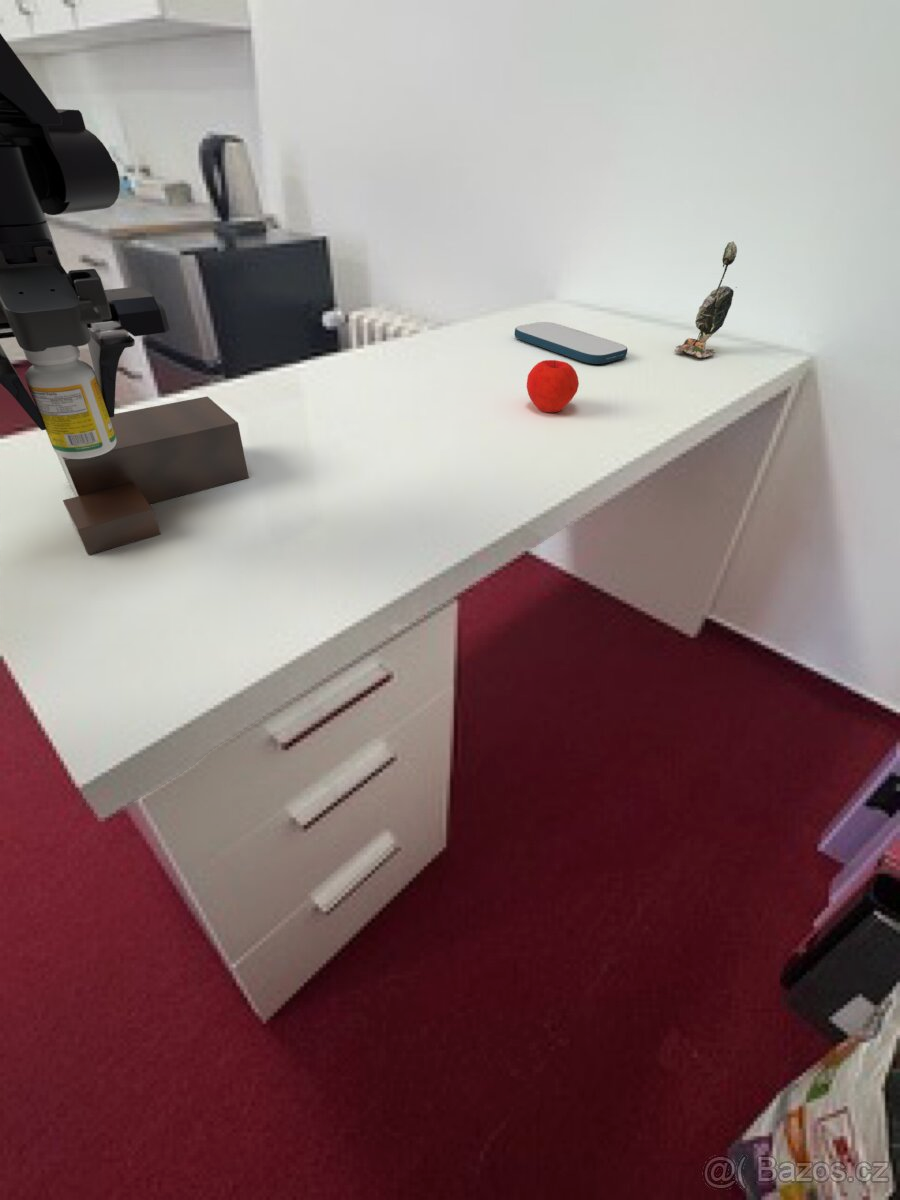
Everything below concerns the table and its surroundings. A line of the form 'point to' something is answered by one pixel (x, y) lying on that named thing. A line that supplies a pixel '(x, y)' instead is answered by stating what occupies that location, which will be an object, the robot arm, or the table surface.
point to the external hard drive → (571, 342)
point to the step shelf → (151, 469)
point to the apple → (552, 385)
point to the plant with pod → (712, 312)
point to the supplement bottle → (70, 403)
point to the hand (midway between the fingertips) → (77, 422)
